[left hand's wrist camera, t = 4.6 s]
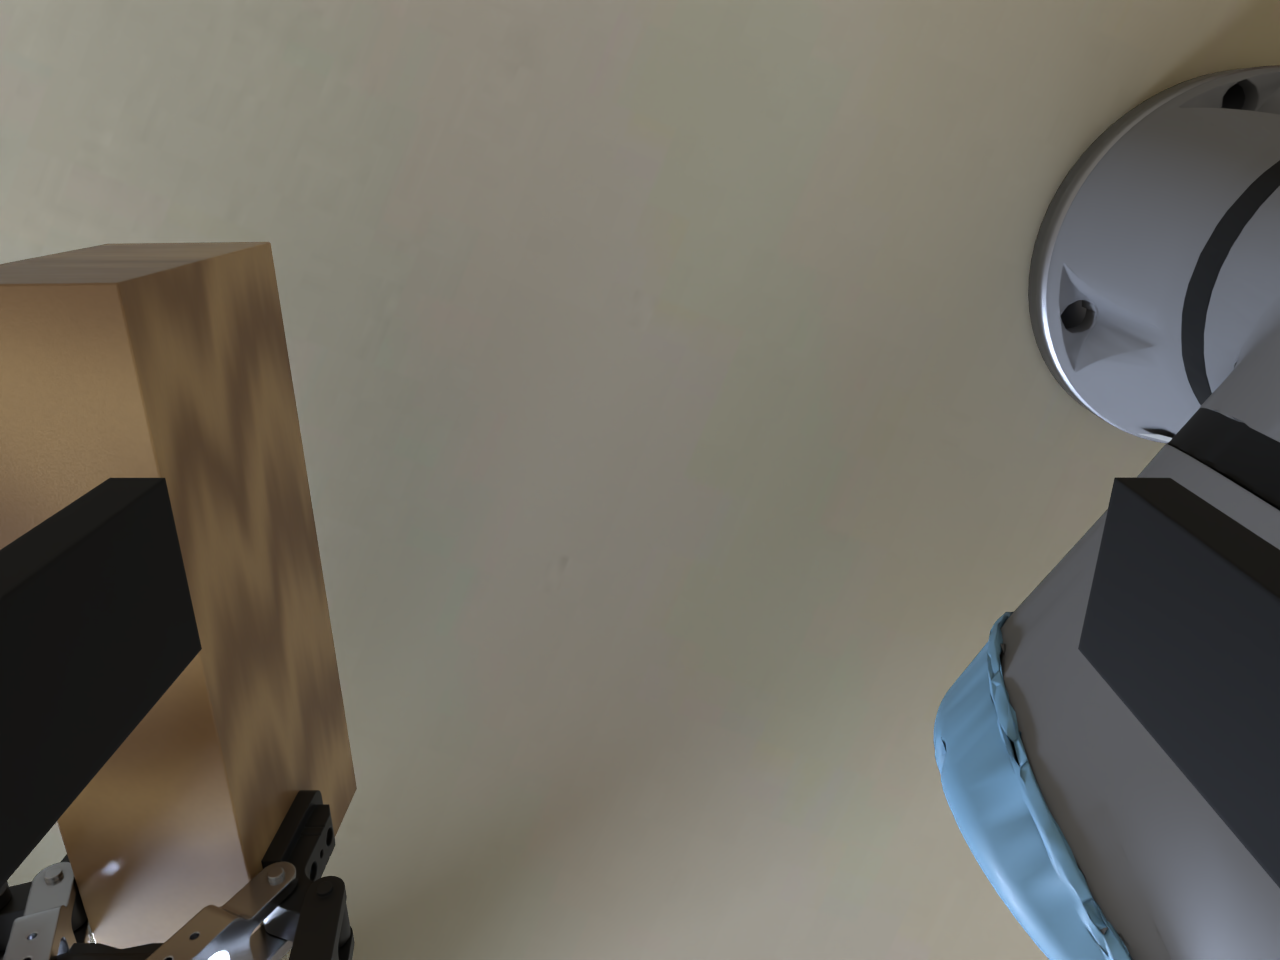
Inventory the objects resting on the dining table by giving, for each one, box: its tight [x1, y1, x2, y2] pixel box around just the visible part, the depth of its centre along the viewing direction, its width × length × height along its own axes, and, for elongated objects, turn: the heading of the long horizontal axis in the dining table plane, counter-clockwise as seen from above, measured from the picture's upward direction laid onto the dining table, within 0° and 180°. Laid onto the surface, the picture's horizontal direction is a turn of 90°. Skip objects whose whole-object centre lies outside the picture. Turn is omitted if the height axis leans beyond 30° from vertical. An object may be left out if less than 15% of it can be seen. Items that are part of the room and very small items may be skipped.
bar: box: [0, 242, 357, 949], centre depth 30 cm, size 23×6×9 cm, turn 1°
